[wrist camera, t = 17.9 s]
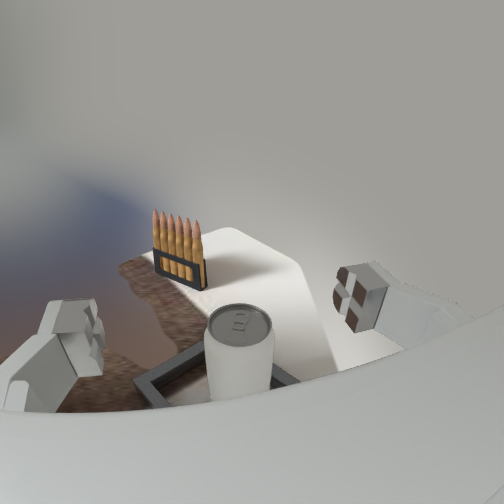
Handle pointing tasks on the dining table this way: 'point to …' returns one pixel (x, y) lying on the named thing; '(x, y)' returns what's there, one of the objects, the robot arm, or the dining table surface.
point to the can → (238, 351)
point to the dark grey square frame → (182, 364)
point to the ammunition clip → (179, 251)
